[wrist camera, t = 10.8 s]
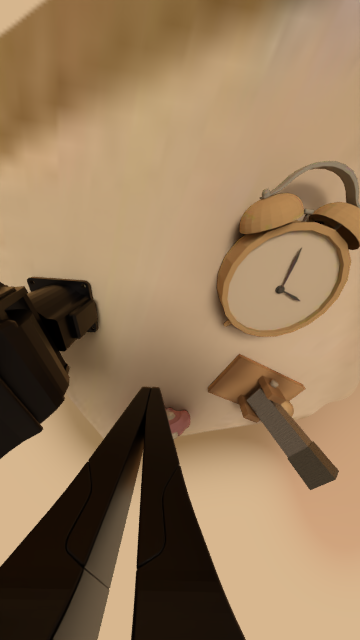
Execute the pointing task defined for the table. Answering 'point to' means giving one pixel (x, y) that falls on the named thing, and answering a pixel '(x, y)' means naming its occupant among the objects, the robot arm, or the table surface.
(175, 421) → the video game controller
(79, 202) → the table surface
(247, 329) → the alarm clock
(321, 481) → the lever
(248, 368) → the base
